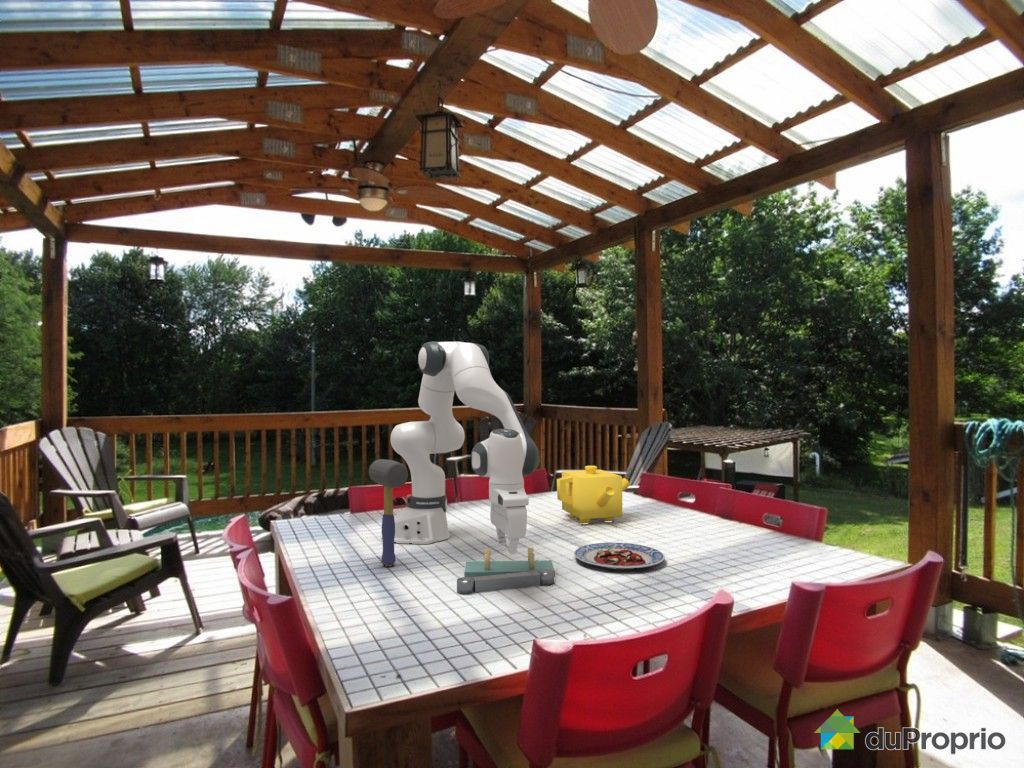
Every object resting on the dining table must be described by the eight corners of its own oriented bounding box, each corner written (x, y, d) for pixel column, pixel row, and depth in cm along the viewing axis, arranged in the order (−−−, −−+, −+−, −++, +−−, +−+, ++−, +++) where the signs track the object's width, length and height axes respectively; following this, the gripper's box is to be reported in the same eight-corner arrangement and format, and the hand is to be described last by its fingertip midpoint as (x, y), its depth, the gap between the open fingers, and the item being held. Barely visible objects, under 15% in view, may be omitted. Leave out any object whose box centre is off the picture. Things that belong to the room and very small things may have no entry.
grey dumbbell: (458, 595, 149) (458, 583, 149) (455, 589, 154) (455, 577, 154) (556, 585, 157) (556, 573, 157) (550, 580, 161) (550, 568, 161)
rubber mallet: (410, 568, 171) (410, 460, 171) (386, 573, 167) (385, 463, 167) (390, 558, 181) (390, 456, 181) (367, 563, 177) (366, 458, 177)
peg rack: (464, 577, 163) (464, 557, 163) (466, 566, 173) (466, 547, 173) (554, 576, 164) (554, 555, 164) (551, 565, 174) (551, 546, 174)
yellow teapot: (652, 526, 221) (652, 470, 221) (576, 532, 212) (576, 473, 212) (609, 507, 254) (609, 459, 254) (542, 512, 246) (542, 462, 246)
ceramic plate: (680, 572, 168) (680, 561, 168) (588, 577, 163) (588, 566, 163) (644, 547, 193) (644, 538, 193) (564, 551, 189) (564, 542, 189)
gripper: (484, 488, 164) (484, 540, 164) (505, 501, 144) (506, 560, 144) (507, 487, 166) (507, 538, 166) (531, 499, 146) (531, 557, 146)
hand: (507, 548), depth 155 cm, fingers open, 8 cm apart
